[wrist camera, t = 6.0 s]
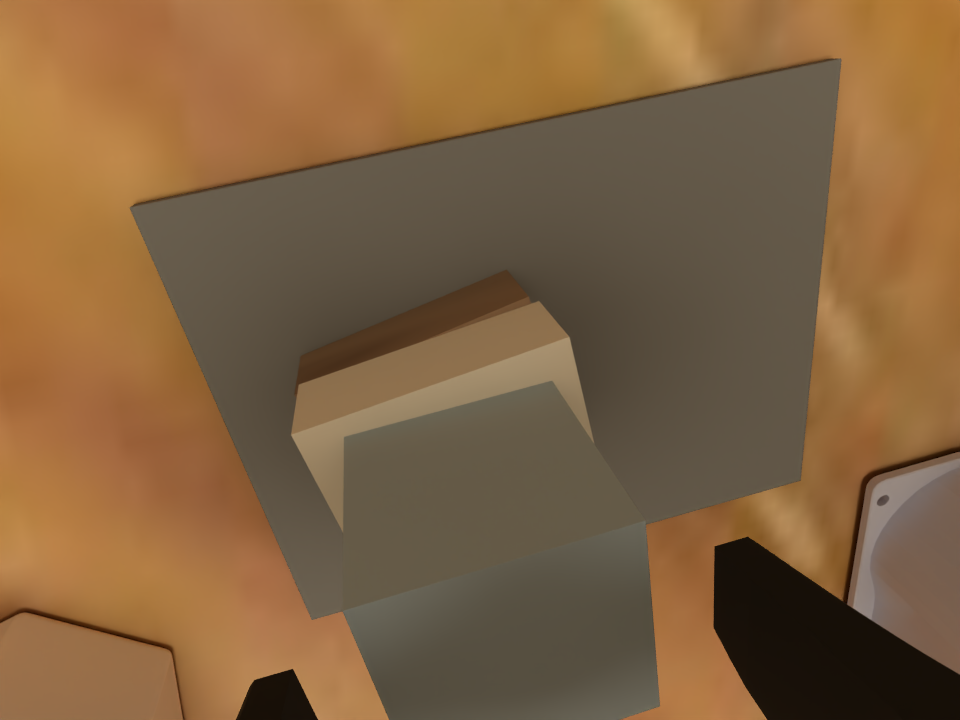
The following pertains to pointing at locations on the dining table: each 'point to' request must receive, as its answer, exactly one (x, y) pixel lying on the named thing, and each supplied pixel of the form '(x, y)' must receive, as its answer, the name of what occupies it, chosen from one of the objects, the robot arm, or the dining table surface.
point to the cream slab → (431, 385)
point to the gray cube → (496, 566)
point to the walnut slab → (416, 326)
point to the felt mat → (537, 283)
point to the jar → (82, 674)
